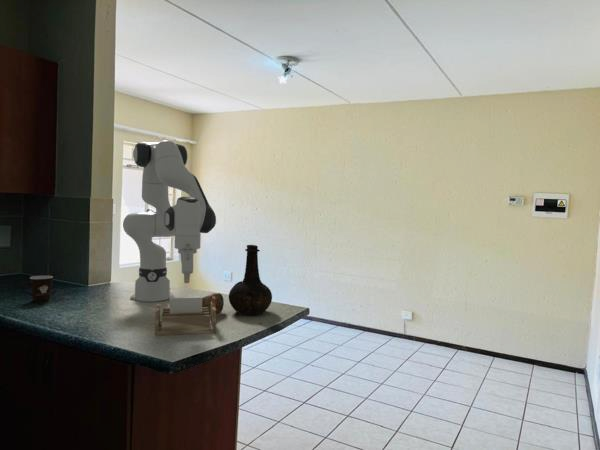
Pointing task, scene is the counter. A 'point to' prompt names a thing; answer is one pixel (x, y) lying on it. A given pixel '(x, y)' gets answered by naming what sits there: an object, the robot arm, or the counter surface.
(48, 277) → the coffee mug
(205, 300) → the tin
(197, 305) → the panel
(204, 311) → the rack
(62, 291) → the counter surface
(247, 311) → the glass bottle
